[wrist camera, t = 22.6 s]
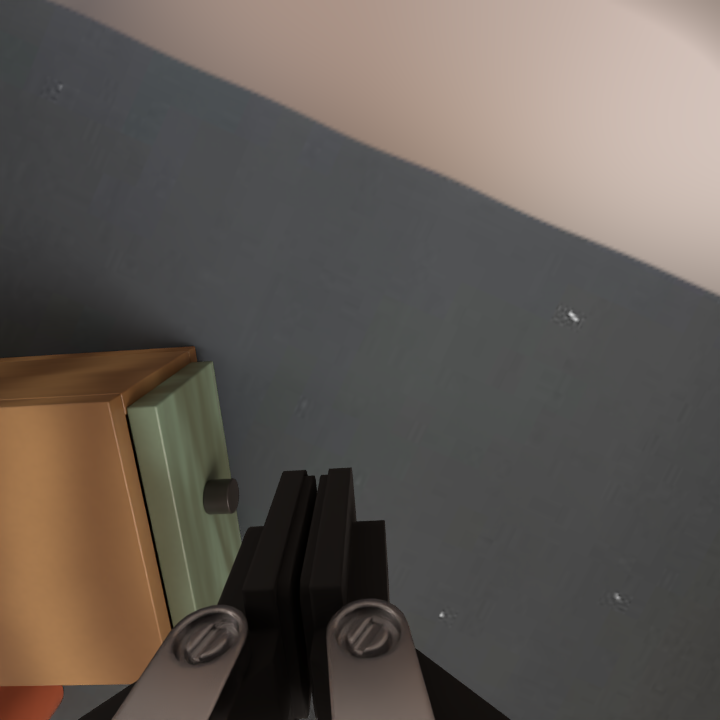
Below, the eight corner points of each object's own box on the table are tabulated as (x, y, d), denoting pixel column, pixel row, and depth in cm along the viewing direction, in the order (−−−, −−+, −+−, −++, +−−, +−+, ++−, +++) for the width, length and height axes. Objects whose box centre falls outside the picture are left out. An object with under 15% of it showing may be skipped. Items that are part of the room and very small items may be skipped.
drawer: (236, 359, 24) (186, 404, 18) (265, 556, 27) (231, 652, 21) (-24, 374, 25) (-156, 422, 19) (32, 564, 28) (-66, 658, 22)
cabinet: (195, 346, 25) (108, 401, 17) (230, 556, 29) (171, 684, 21) (-55, 361, 26) (-249, 421, 18) (8, 563, 29) (-132, 689, 21)
